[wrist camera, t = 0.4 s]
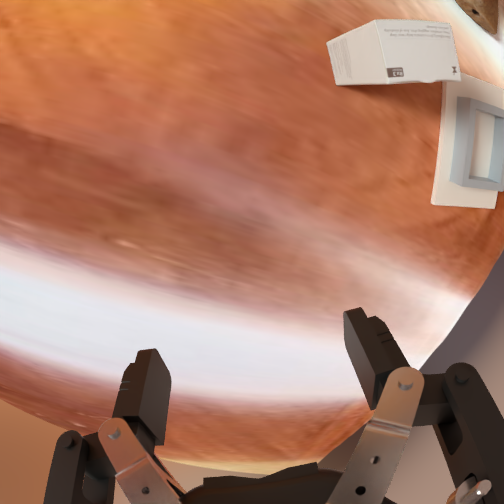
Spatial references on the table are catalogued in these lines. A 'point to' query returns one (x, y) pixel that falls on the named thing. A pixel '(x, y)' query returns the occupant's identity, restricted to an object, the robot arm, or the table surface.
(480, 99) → the socket board
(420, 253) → the table surface
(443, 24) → the skincare box
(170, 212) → the table surface
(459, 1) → the tan flared vase
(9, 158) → the table surface
